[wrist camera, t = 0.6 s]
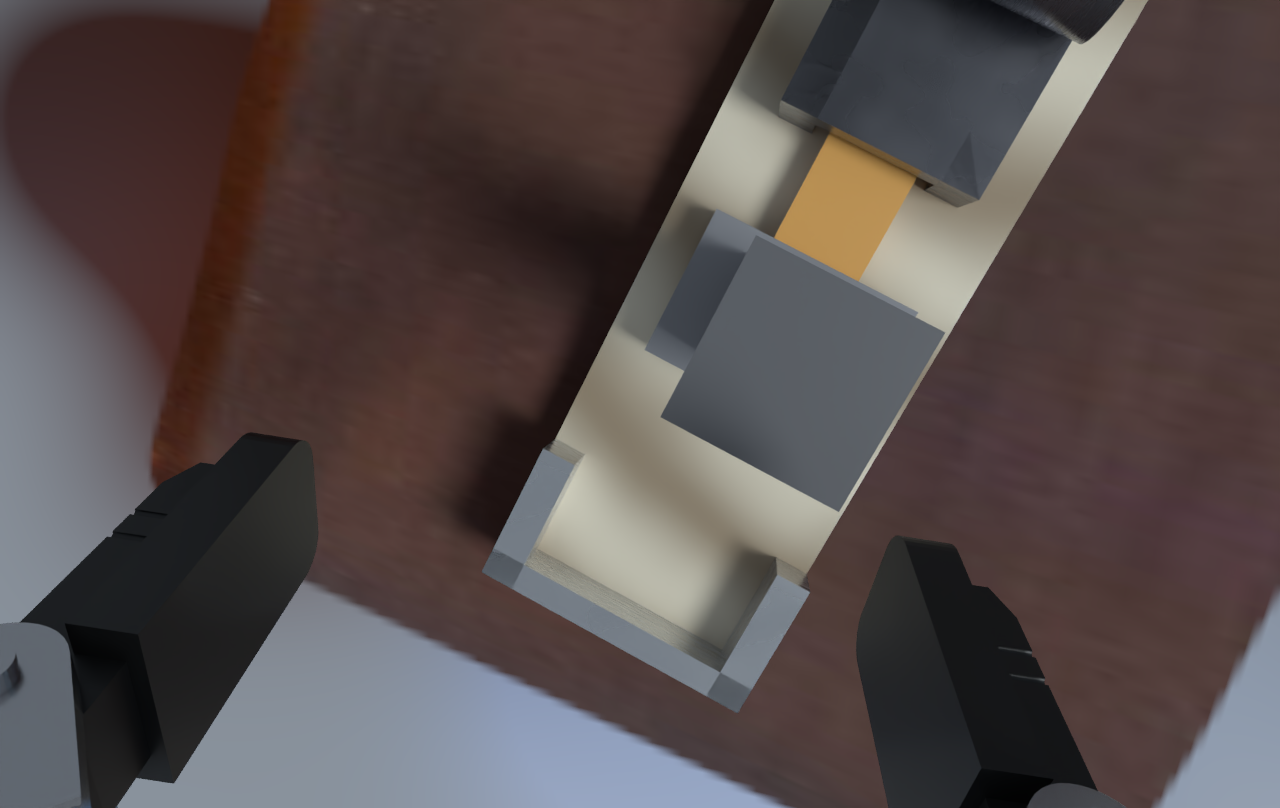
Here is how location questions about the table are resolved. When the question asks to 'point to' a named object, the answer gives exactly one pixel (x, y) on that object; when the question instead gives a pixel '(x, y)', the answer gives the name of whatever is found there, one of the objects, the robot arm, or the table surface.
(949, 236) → the rail board
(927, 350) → the strap handle
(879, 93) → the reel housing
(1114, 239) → the table surface
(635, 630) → the bracket
